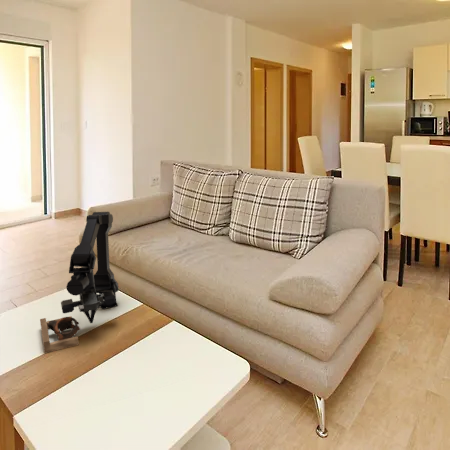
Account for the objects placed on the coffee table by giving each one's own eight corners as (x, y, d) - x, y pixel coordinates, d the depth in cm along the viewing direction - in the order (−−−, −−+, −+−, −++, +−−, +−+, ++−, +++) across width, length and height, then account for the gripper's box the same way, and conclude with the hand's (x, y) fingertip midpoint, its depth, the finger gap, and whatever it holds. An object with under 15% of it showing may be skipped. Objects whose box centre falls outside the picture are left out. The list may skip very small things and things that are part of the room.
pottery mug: (85, 329, 158) (83, 316, 152) (74, 351, 151) (72, 339, 145) (53, 322, 158) (51, 309, 152) (41, 343, 151) (38, 331, 145)
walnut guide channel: (72, 322, 163) (70, 312, 162) (78, 344, 146) (77, 334, 145) (41, 328, 158) (39, 319, 157) (44, 353, 142) (43, 342, 141)
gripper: (60, 297, 142) (66, 338, 146) (116, 286, 149) (121, 326, 153) (58, 285, 152) (64, 325, 156) (110, 276, 159) (115, 313, 163)
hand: (91, 322), depth 157 cm, fingers closed
